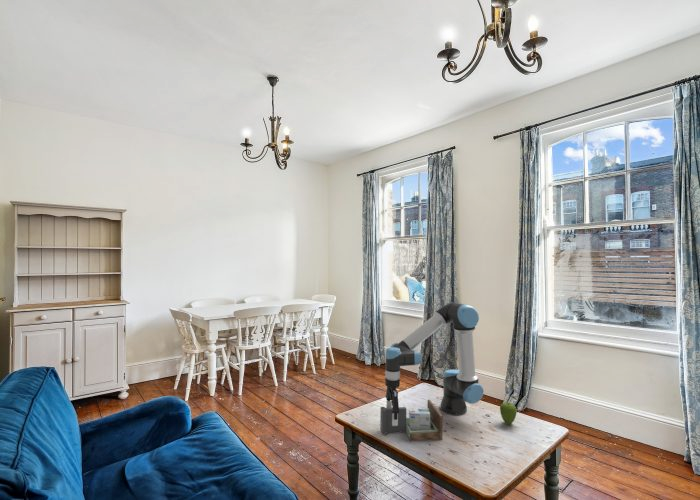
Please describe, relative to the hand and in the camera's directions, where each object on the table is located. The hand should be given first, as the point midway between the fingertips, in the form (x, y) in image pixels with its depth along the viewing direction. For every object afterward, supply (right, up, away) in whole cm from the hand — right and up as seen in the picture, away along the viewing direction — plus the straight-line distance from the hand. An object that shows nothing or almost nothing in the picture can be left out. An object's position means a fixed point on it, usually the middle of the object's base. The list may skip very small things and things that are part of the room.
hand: (391, 419), depth 188 cm
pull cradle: (+8, -7, +1) cm, 11 cm away
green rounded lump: (+65, -7, +10) cm, 66 cm away
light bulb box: (+15, -7, +2) cm, 16 cm away
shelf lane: (+16, -7, +2) cm, 17 cm away
